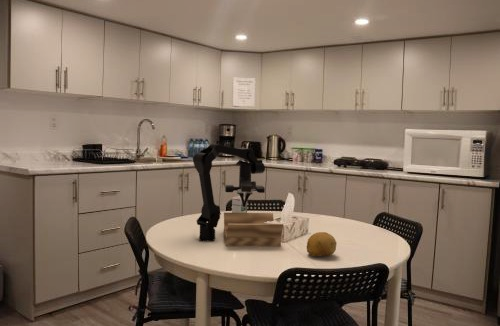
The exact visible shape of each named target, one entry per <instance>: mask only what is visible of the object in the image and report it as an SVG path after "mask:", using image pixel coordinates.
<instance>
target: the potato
mask: <svg viewBox="0 0 500 326" xmlns="http://www.w3.org/2000/svg"><path fill="white" fill-rule="evenodd" d="M336 250H337V241H336V239H335V237H334V236H333V235H332V234H331V233H328V232H323V231H321V232H320V231H319V232H315V233H313V234H311V235H310V237H309V238H308V239H307V243H306V252H307V253H308V254H309V255H310V256H312V257H320V256H321V257H330V256H332V255H333V254H335V252H336Z"/></svg>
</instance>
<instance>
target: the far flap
mask: <svg viewBox="0 0 500 326" xmlns="http://www.w3.org/2000/svg"><path fill="white" fill-rule="evenodd" d="M267 221H274V222H275V220H274V212H247V213H232V212H223V230H224V229H228V224H264V222H267Z"/></svg>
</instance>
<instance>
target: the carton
mask: <svg viewBox="0 0 500 326" xmlns="http://www.w3.org/2000/svg"><path fill="white" fill-rule="evenodd" d="M223 240H224V243H225V247H281V246H282V245H281V244H282V237H281V238H227V229H224V228H223Z"/></svg>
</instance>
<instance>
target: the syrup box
mask: <svg viewBox="0 0 500 326" xmlns="http://www.w3.org/2000/svg"><path fill="white" fill-rule="evenodd" d="M244 198H245V196H244ZM231 200H232V201H231V205H232V207H231V213H248V202H247V203H246V205H245V207H243V204H242V201H241V197H240V195H239V196H234V197H232V199H231Z"/></svg>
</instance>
